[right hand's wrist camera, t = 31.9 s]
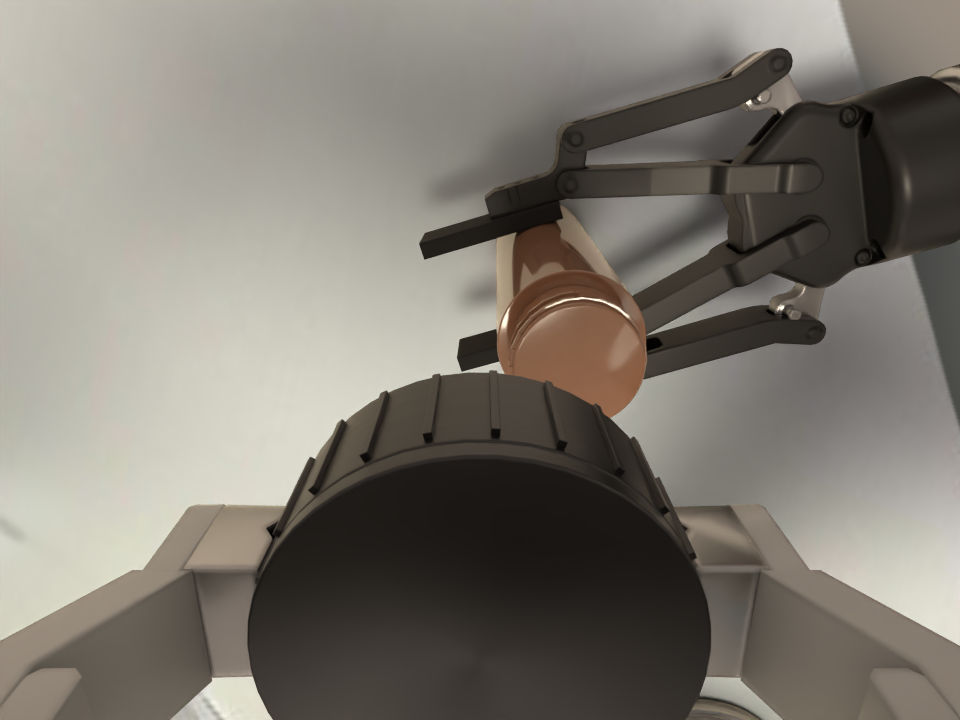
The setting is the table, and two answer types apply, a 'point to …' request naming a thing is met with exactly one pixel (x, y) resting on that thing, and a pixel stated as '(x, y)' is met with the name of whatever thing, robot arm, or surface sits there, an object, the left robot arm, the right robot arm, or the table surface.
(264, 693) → the lid
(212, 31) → the table surface
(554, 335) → the jar
